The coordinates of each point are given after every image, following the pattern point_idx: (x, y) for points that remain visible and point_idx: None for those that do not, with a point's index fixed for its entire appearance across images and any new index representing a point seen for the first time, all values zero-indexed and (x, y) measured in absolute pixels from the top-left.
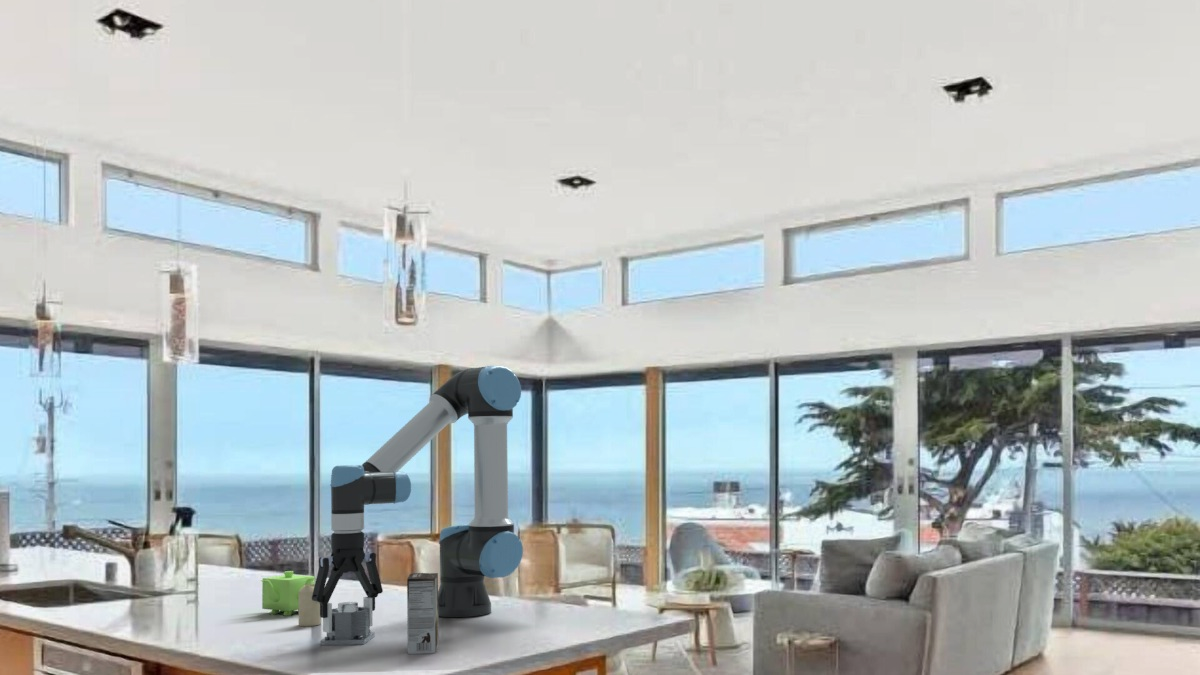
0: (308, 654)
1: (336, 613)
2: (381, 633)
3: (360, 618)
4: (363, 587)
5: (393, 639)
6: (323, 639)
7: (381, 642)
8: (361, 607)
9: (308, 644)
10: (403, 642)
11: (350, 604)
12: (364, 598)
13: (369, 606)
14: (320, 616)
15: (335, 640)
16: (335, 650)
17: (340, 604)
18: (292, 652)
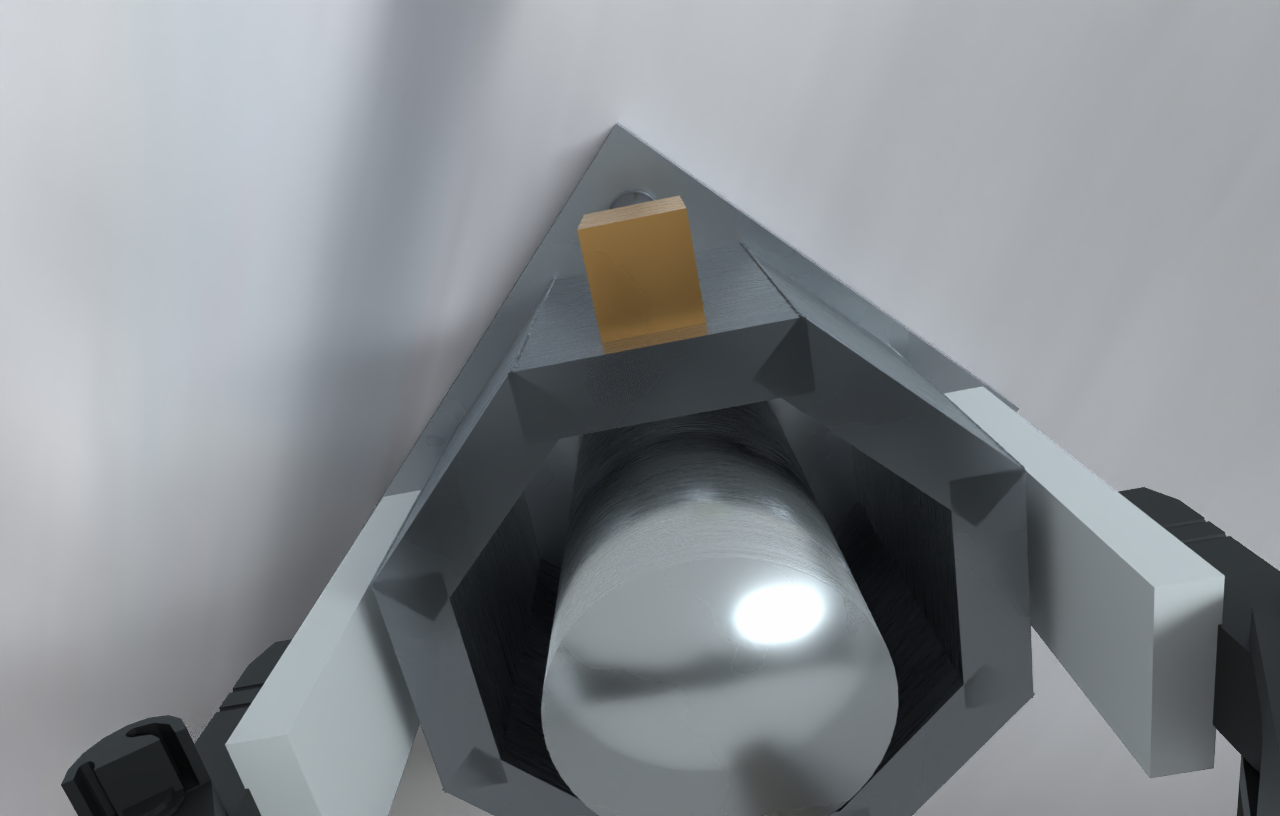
0: None
1: (465, 795)
2: (1155, 260)
3: None
4: (1275, 809)
5: (1040, 647)
6: (406, 484)
7: None
8: (986, 555)
9: (277, 382)
10: (1021, 809)
11: None
12: (1138, 611)
13: (1070, 671)
14: (265, 658)
15: None
16: (437, 789)
17: (564, 752)
18: (82, 663)
